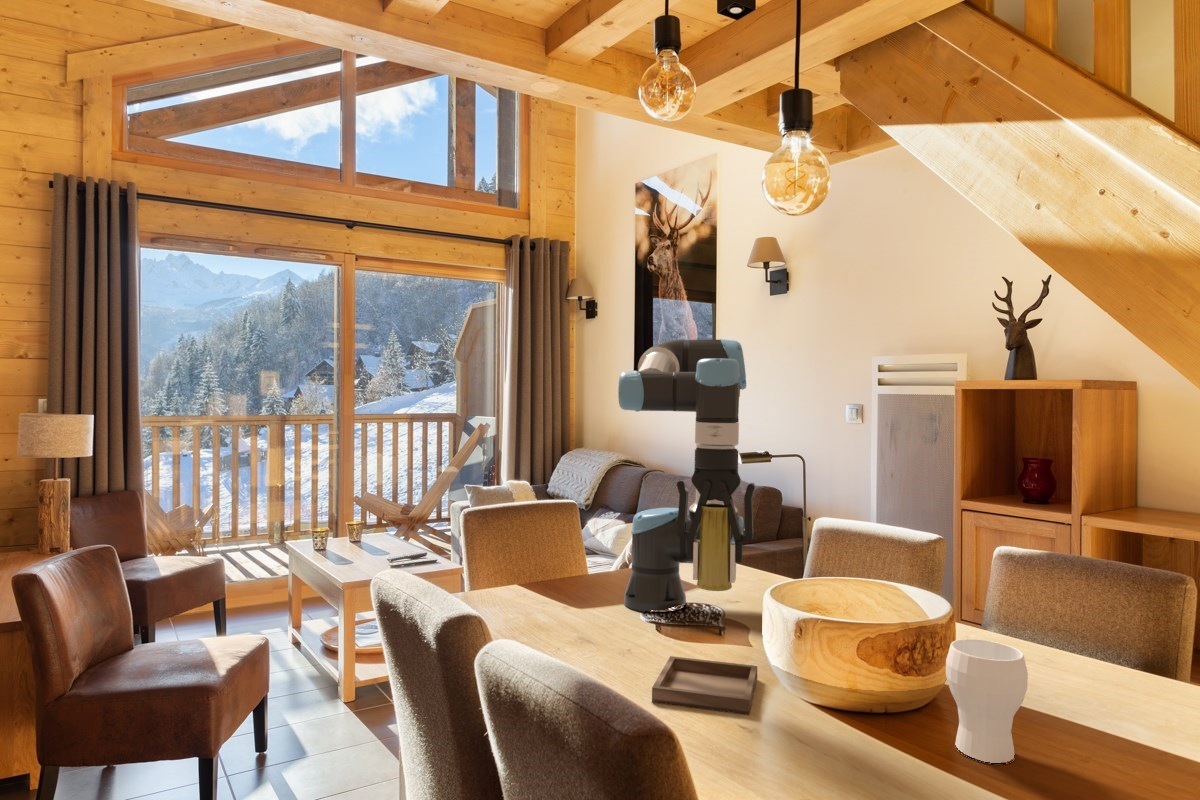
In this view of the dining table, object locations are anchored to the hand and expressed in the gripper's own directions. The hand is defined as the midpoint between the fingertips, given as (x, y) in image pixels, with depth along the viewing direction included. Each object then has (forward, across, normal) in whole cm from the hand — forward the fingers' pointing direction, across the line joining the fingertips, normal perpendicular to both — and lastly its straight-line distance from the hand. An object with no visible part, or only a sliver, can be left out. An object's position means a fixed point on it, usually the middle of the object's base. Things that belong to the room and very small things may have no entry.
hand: (714, 579), depth 133 cm
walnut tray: (+19, -1, -1) cm, 19 cm away
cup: (+20, +41, -12) cm, 47 cm away
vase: (+2, 0, 0) cm, 2 cm away
